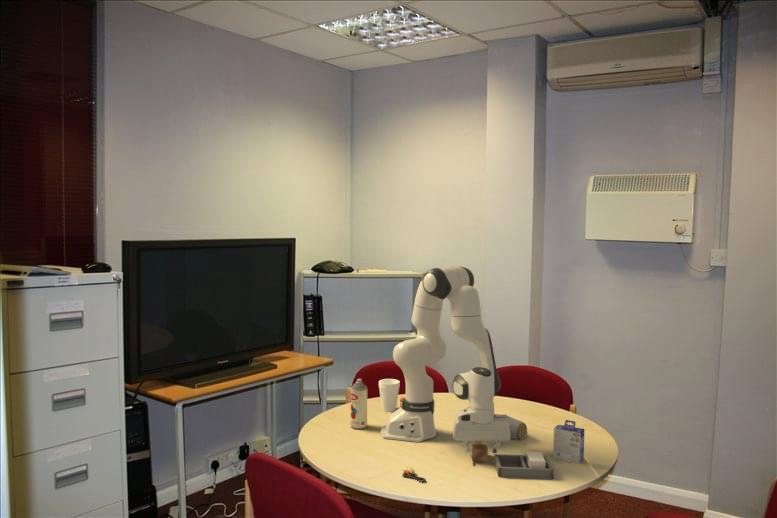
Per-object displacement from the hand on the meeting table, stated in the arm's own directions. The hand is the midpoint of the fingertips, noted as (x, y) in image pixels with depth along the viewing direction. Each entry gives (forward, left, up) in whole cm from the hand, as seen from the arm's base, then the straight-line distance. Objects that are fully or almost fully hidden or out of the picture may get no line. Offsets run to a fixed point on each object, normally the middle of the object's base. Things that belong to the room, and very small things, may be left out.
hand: (481, 452), depth 216 cm
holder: (+13, -9, -3) cm, 16 cm away
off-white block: (+17, -9, -2) cm, 20 cm away
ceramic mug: (+16, +27, -4) cm, 31 cm away
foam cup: (-37, +56, -4) cm, 67 cm away
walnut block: (-1, 0, -4) cm, 4 cm away
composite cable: (-24, -16, -4) cm, 29 cm away
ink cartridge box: (+31, +3, -4) cm, 32 cm away
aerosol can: (-48, +32, -4) cm, 58 cm away
